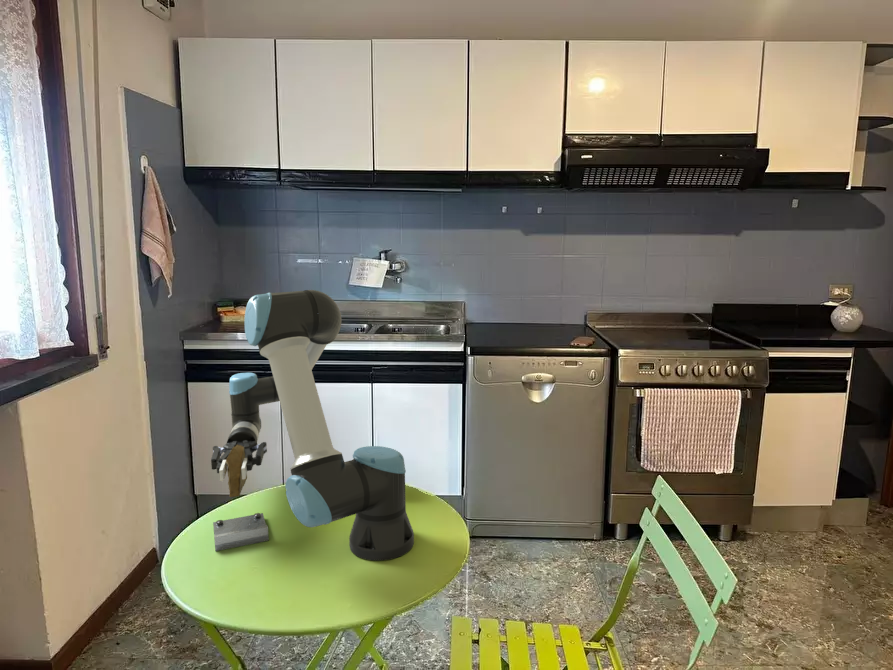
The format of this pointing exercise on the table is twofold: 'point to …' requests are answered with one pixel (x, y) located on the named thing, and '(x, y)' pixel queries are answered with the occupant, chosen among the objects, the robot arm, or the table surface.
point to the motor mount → (240, 531)
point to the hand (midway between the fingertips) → (232, 474)
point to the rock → (235, 470)
